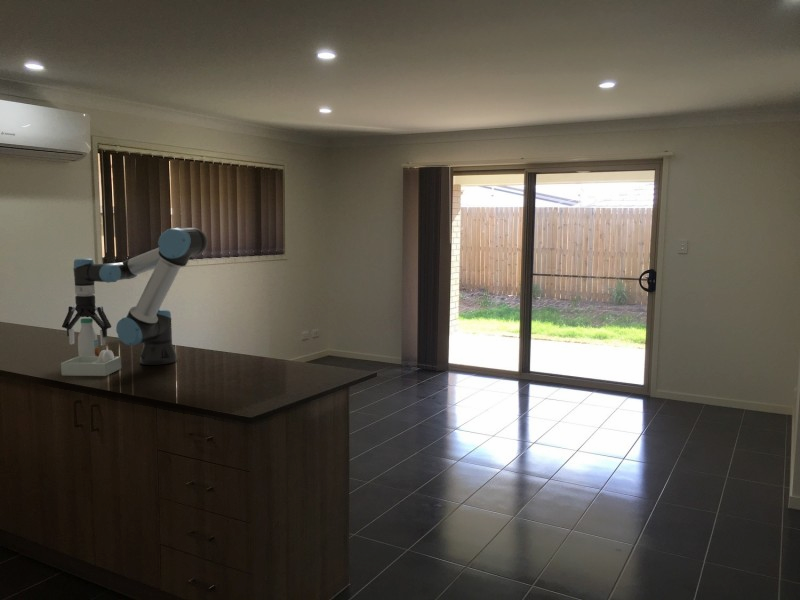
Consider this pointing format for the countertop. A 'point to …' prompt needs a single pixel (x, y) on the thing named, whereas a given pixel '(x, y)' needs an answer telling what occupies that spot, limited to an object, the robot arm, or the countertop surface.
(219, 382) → the countertop surface
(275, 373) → the countertop surface
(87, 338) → the milk bottle
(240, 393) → the countertop surface
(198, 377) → the countertop surface
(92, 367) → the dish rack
